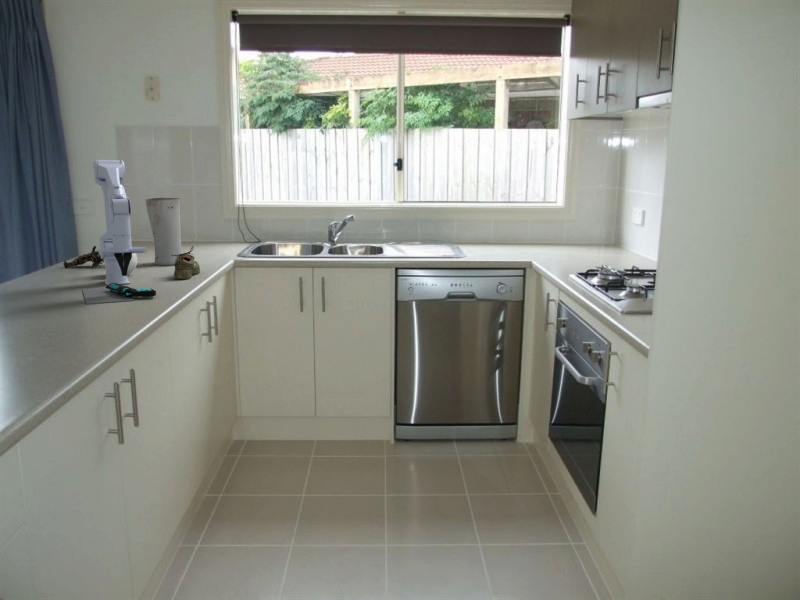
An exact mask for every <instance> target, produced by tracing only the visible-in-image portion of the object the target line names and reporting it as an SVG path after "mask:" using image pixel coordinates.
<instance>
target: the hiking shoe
mask: <svg viewBox="0 0 800 600" xmlns="http://www.w3.org/2000/svg"><path fill="white" fill-rule="evenodd" d="M194 248H195V247H194V245H192V246H191V248H190V251H187V252H182V253H181V254H179V255H173V256H177V258H176V260H175V265H174V271H173V272H174V273H173V279H174V280H190V279H192V276H195V275H199V274H200V272H201V268H200V265H199V263H198V262H197V261H196V260H195V256H193V255H195V254H193V253H191V252H193V250H194Z"/></svg>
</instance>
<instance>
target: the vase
mask: <svg viewBox="0 0 800 600" xmlns="http://www.w3.org/2000/svg"><path fill="white" fill-rule="evenodd" d="M180 200H181V199H180V198H178V197H154V198H147V199H145V206H146V212H147V216H148V220H149V224H150V228H151V232H152V237H153V243H154V262H153V263H154V264H153V265H154V266H156V265H157V266H158V267H159V266H160V267H164V266H165V267H171V265H173V266H175V260H176V258H177V256H173V255H179V254H183V252H182V237H181V236H182V234H181V231H182V230H181V211H180V210H181V209H180V206H181V205H180V204H181V203H180V202H181V201H180Z"/></svg>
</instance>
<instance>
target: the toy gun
mask: <svg viewBox="0 0 800 600" xmlns="http://www.w3.org/2000/svg"><path fill="white" fill-rule="evenodd" d="M104 288H107V289H110V290H111V291H113V292H116V293H118V294H121V295H123V296H126V297H133V298H146V299H147V298H153V297H156V296H157V291H156V290H154V289H153V288H152V287H147V288H145V287H144V288H142V287H141V288H133V287H129V286H127V285H124V284H117V283H111V284H109V285H106V286H105V287H104Z"/></svg>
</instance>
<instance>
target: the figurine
mask: <svg viewBox="0 0 800 600" xmlns="http://www.w3.org/2000/svg"><path fill="white" fill-rule="evenodd" d="M96 249H97V246H95V245H93V247H92V250H91V252H89V253H86V254H82V255H78V256H77V257H76V258H74V259H73V260H72V261H70V262H67V260H63V266H64V268H65V269H68V268H70V267H77V266H81V265H82V266H83V265H85V264H86V263H88V262H91V263H92V264H91V269H93V268H97V267H98V266H99V265H103V264H104V258H102V257H101V256H100V255H99V250H98V251H97V250H96Z"/></svg>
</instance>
